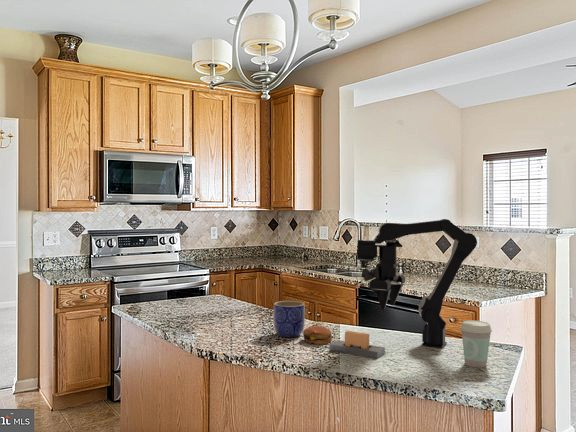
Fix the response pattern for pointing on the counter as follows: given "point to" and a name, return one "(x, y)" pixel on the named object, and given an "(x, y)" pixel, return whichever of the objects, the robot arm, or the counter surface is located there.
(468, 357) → the coffee cup
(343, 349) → the rail
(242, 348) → the counter surface
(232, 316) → the counter surface
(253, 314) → the counter surface
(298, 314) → the planter
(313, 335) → the burger
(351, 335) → the clip
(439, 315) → the robot arm
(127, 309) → the counter surface
